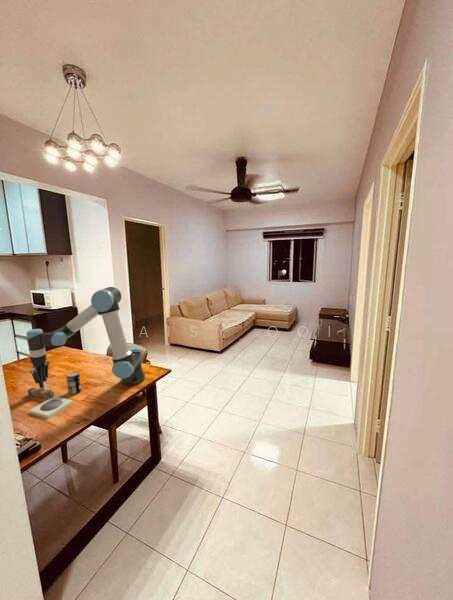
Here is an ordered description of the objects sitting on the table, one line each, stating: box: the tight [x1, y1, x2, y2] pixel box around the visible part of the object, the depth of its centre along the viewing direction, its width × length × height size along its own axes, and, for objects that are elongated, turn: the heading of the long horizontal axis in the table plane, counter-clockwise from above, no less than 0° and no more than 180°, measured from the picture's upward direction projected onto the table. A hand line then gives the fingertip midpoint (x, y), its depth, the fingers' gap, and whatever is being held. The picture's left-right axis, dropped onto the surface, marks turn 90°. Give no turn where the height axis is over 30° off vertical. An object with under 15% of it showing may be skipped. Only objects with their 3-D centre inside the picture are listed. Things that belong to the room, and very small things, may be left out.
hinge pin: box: [49, 389, 55, 399], centre depth 146 cm, size 3×3×4 cm
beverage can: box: [66, 371, 82, 396], centre depth 151 cm, size 7×7×12 cm
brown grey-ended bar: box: [27, 387, 52, 400], centre depth 148 cm, size 15×3×4 cm, turn 75°
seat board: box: [29, 395, 74, 419], centre depth 137 cm, size 14×14×2 cm
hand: (43, 391), depth 151 cm, fingers closed
